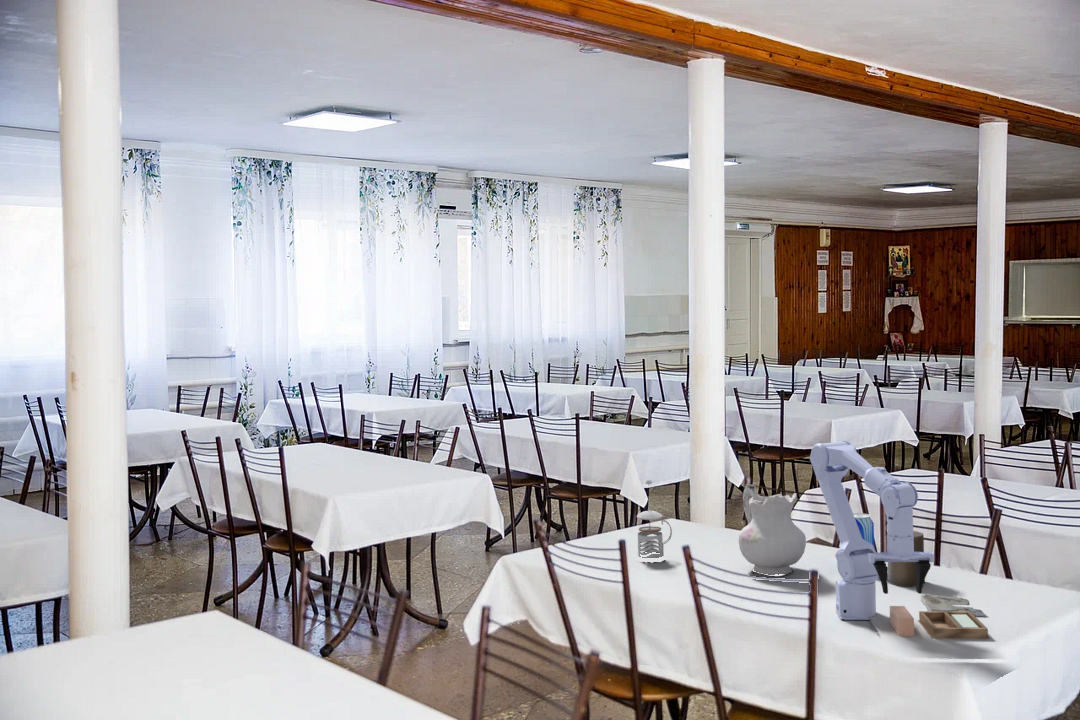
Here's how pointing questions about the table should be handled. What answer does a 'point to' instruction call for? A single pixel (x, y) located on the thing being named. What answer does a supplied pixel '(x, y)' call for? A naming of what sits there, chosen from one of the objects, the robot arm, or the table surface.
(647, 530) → the french press
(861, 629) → the table surface
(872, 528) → the beer can
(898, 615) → the clay bar
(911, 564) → the pillar candle
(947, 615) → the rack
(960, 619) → the glazed tile
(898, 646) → the table surface
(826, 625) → the table surface
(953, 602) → the fossil rock
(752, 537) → the ceramic pitcher
